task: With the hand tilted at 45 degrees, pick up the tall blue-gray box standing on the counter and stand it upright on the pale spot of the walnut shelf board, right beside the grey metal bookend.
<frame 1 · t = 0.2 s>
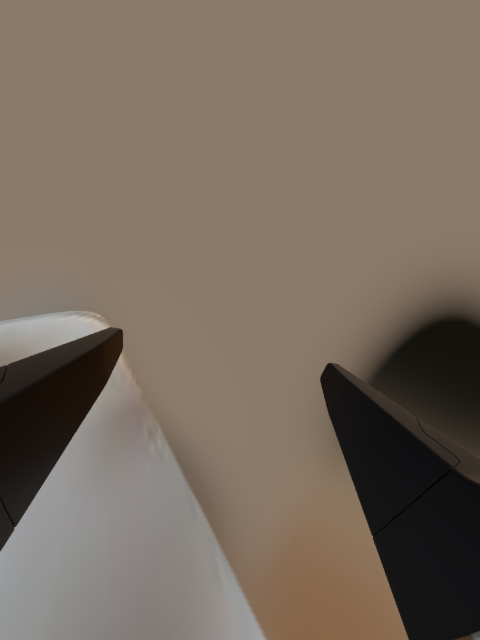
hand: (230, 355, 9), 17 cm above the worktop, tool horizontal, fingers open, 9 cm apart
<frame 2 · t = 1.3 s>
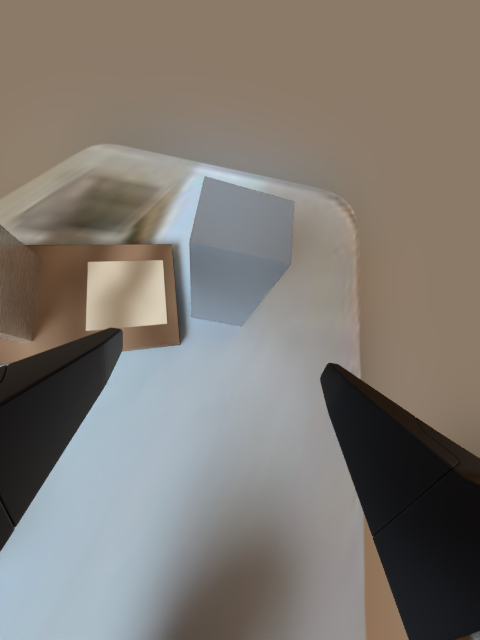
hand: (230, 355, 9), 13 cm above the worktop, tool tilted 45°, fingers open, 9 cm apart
shelf board: (130, 297, 23), on the worktop
tall blue-gray box: (219, 302, 24), on the worktop
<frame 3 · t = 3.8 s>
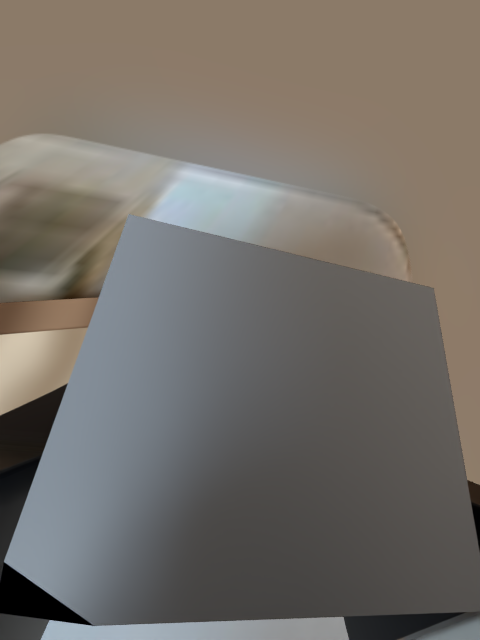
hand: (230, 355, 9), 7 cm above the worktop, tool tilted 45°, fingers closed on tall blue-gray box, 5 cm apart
shelf board: (61, 390, 13), on the worktop
tall blue-gray box: (212, 387, 15), on the worktop, touching gripper
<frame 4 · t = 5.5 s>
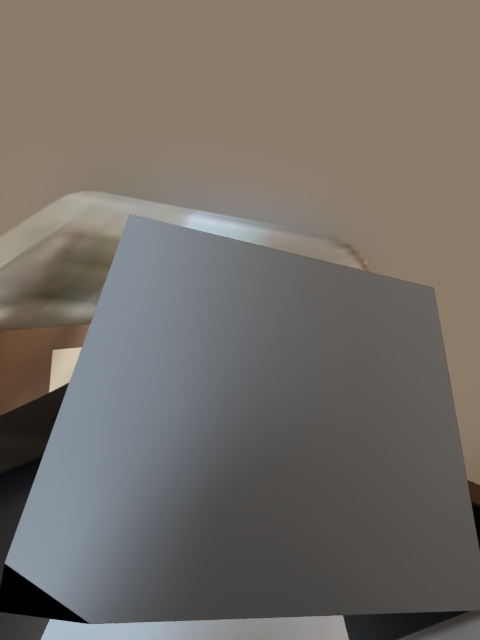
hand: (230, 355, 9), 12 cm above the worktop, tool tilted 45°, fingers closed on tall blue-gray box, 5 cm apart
shelf board: (105, 387, 19), on the worktop
tall blue-gray box: (212, 387, 15), point 6 cm above the worktop, touching gripper
when the fingers open (9 cm above the worktop, at t = 7.5 s): tall blue-gray box stays where it is, resting on shelf board.
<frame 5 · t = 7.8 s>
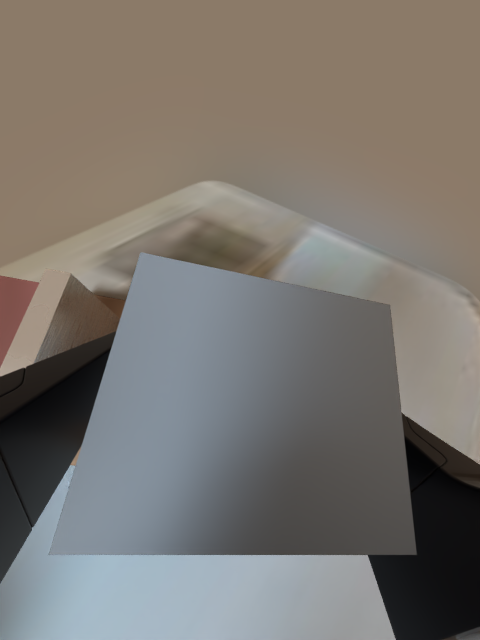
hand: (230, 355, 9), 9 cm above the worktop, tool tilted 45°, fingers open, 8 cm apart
shelf board: (210, 387, 17), on the worktop
tall blue-gray box: (211, 387, 16), point 1 cm above the worktop, touching shelf board
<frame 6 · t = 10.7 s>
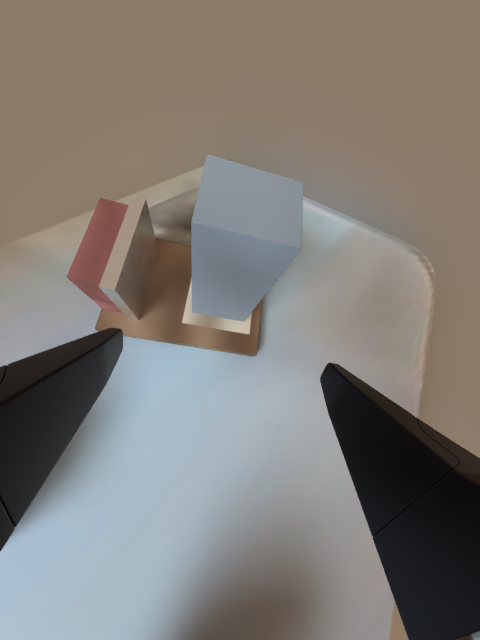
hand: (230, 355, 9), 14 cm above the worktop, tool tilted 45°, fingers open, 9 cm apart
shelf board: (220, 302, 25), on the worktop
tall blue-gray box: (221, 297, 23), point 1 cm above the worktop, touching shelf board
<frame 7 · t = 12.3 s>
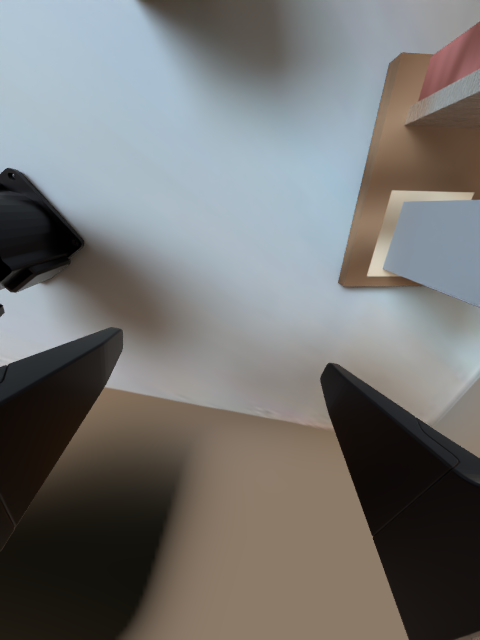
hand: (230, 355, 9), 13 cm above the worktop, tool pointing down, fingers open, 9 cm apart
shelf board: (406, 235, 20), on the worktop
tall blue-gray box: (416, 237, 19), point 1 cm above the worktop, touching shelf board
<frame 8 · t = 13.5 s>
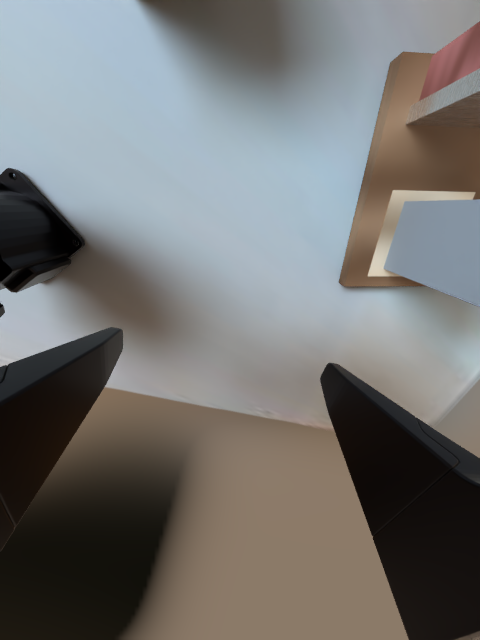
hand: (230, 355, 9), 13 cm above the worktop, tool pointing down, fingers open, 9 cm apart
shelf board: (407, 235, 20), on the worktop
tall blue-gray box: (417, 237, 19), point 1 cm above the worktop, touching shelf board
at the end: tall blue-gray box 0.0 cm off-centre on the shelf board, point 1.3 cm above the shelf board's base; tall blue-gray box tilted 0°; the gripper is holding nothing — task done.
